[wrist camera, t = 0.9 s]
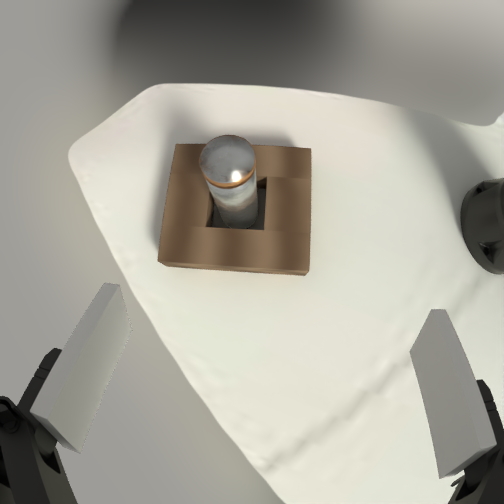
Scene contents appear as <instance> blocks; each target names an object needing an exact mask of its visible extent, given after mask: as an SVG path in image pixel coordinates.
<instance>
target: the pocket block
mask: <svg viewBox="0 0 504 504" xmlns="http://www.w3.org/2000/svg"><path fill="white" fill-rule="evenodd" d="M205 145H206V144H176V146H175V151H174V157H173V162H172V167H171V173H170V179H169V185H168V190H167V197H166V203H165V209H164V216H163V223H162V230H161V237H160V245H159V252H158V262H160V263H162V264H164V265H165V266H168V267H181V268H194V269H208V270H223V271H237V272H253V273H269V274H285V275H302V276H305V275H306V274H307V273H308V272H309V264H310V233H311V149H310V148H298V147H283V146H265V145H251V146H252V147H253V149H254V152H255V158H256V183H257V188H262V189H267V191H266V207H265V223H264V230H250V229H232V228H213V227H212V219H213V210H214V198H213V196H212V194H211V191H210V189H209V186H208V184H207V181H206V179H205V177H204V175H203V173H202V171H201V168H200V164H199V158H200V154H201V151H202V150H203V148H204V147H205Z"/></svg>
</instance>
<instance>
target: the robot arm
mask: <svg viewBox="0 0 504 504" xmlns="http://www.w3.org/2000/svg"><path fill="white" fill-rule="evenodd" d="M461 225H462V231H463V235H464V239H465V242H466V244H467V246H468V249H469V251H470V252H471V254H472V256H473V257H474V259H475V260H476V261H477V262H478V263H479V264H480V265H481V266H482V267H483V268H484V269H485V270H487V271H489V272H491V273H494V274H504V178H501V179H493V180H486V181H483V182H481V183H479V184H477V185H476V186H475V187H473V188H472V189H471V190H470V191H469V192H468V193H467V194H466V196H465V198H464V201H463V204H462V209H461ZM131 332H132V327H131V324H130V320H129V317H128V313H127V310H126V306H125V302H124V299H123V295H122V291H121V287H120V285H118V284H111V283H104V284H103V286H102V287H101V289H100V290H99V292H98V293H97V295H96V296H95V298H94V300H93V301H92V302H91V304H90V306H89V307H88V309H87V310H86V312H85V313H84V315H83V317H82V318H81V320H80V322H79V323H78V325H77V326H76V328H75V330H74V331H73V333H72V335H71V336H70V338H69V340H68V341H67V343H66V345H65V347H64V348H63V350H61V349H57V348H54V349H52V350H51V351H50V352H49V353H48V354H47V355H46V356H45V357H44V359H43V360H42V362H41V364H40V365H39V369H37V371H36V372H35V374H34V377H33V378H32V380H31V381H30V383H29V385H28V387H27V389H26V390H25V392H24V394H23V396H22V398H21V400H20V402H19V404H18V405H17V406H16V405H15V404H14V403H13V402H12V401H11V400H10V399H9V398H8V397H5V396H0V504H78V503H77V501H76V499H75V496H74V494H73V492H72V489H71V487H70V484H69V481H68V479H67V476H66V473H65V471H64V468H63V465H62V462H61V460H60V457H59V454H58V451H57V449H56V447H55V446H56V443H57V441H58V442H59V443H60V444H61V445H62V446H63V447H65V448H67V449H70V450H72V451H75V452H78V453H81V451H82V448H83V445H84V443H85V440H86V437H87V435H88V432H89V430H90V427H91V425H92V422H93V420H94V417H95V415H96V412H97V410H98V407H99V405H100V402H101V400H102V397H103V395H104V393H105V391H106V388H107V386H108V383H109V381H110V379H111V377H112V374H113V372H114V370H115V367H116V365H117V363H118V361H119V358H120V356H121V354H122V352H123V350H124V347H125V345H126V343H127V341H128V339H129V337H130V334H131ZM410 355H411V358H412V362H413V365H414V369H415V372H416V376H417V379H418V383H419V387H420V390H421V394H422V398H423V402H424V406H425V410H426V414H427V419H428V423H429V427H430V432H431V436H432V441H433V446H434V451H435V456H436V462H437V467H438V473H439V479H442V478H446V477H450V476H454V475H456V474H458V473H459V472H461V471H462V470H464V473H465V475H463V476H462V477H460V478H459V479H457V480H456V481H454V482H453V483H452V485H451V486H452V487H453V486H455V485H456V484H458V483H459V484H458V486H457V487H456V488H455V489H456V490H455V491H454V493H453V495H452V497H451V499H450V501H449V503H448V504H504V429H503V425H502V422H501V419H500V416H499V413H498V411H497V410H496V409H497V407H496V405H495V402H493V400H494V399H493V396H492V394H491V391H490V389H489V387H488V386H487V385H486V383H485V382H484V381H483V380H476V379H475V377H474V374H473V372H472V369H471V366H470V364H469V361H468V359H467V357H466V354H465V352H464V349H463V347H462V345H461V342H460V340H459V338H458V336H457V333H456V331H455V329H454V327H453V325H452V322H451V320H450V318H449V316H448V314H447V312H446V310H441V309H431V311H430V313H429V315H428V317H427V319H426V321H425V323H424V325H423V327H422V329H421V331H420V333H419V335H418V337H417V339H416V341H415V343H414V344H413V346H412V348H411V350H410Z"/></svg>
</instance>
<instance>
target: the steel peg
mask: <svg viewBox="0 0 504 504" xmlns="http://www.w3.org/2000/svg"><path fill="white" fill-rule="evenodd" d="M199 164H200V168H201V171H202V173H203V175H204V177H205V179H206V181H207V184H208V186H209V189H210V191H211V194H212V196H213V198H214V201H215V203H216V206H217V208H218V210H219V213H220V215H221V218H222V220H223V222H224V223H225V224H226V225H227V226H228V227H230V228H232V229H246V228H248V227H250V226H251V225H252V224H253V223H254V222H255V221H256V219H257V216H258V199H257V183H256V158H255V152H254V149H253V147H252V146H251V144H250V143H249V142H248V141H247V140H245V139H244V138H242V137H239V136H235V135H223V136H219V137H217V138H214V139H213V140H211V141H210V142H208V143H207V144H206V145H205V147H204V148H203V150H202V151H201V154H200V158H199Z"/></svg>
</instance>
